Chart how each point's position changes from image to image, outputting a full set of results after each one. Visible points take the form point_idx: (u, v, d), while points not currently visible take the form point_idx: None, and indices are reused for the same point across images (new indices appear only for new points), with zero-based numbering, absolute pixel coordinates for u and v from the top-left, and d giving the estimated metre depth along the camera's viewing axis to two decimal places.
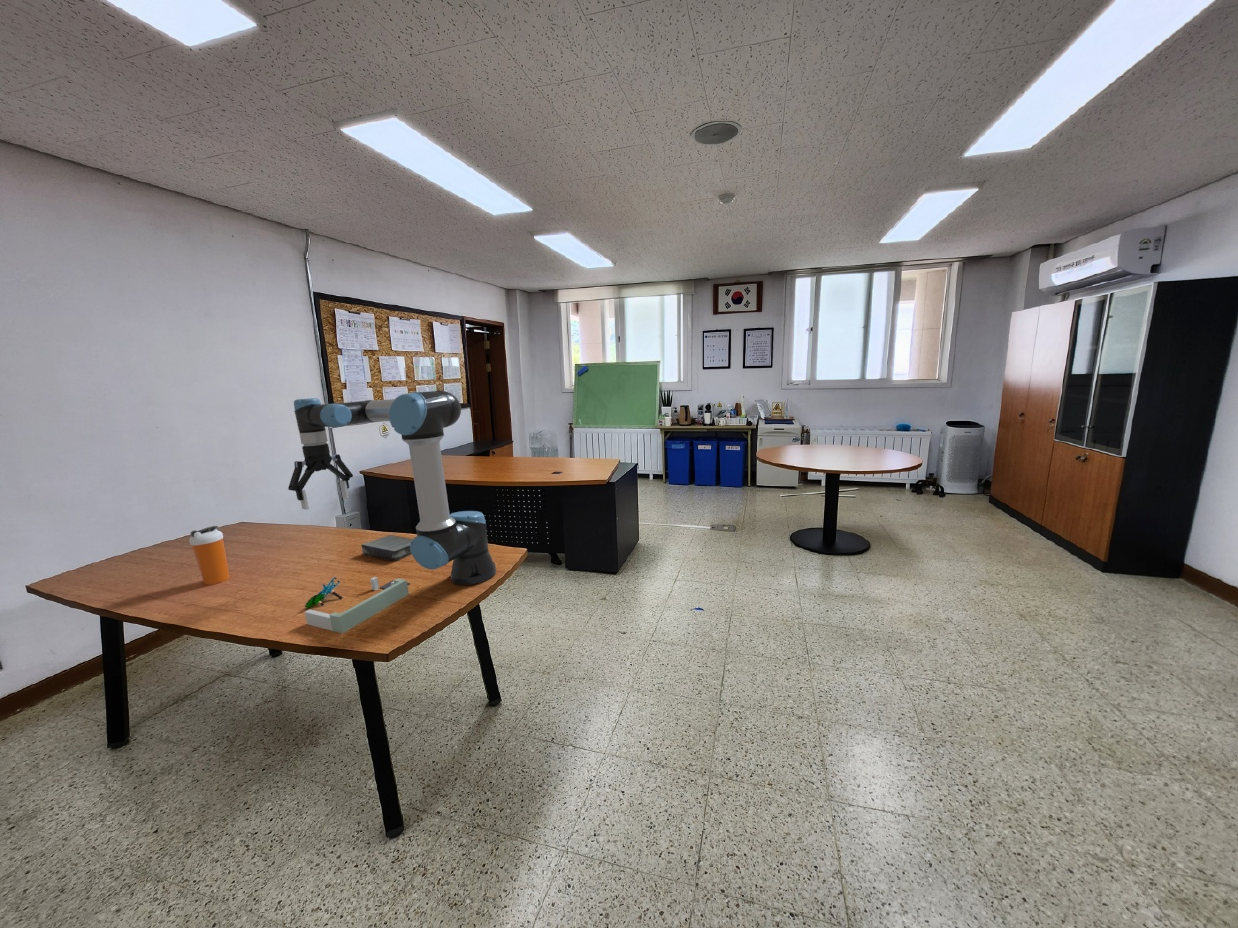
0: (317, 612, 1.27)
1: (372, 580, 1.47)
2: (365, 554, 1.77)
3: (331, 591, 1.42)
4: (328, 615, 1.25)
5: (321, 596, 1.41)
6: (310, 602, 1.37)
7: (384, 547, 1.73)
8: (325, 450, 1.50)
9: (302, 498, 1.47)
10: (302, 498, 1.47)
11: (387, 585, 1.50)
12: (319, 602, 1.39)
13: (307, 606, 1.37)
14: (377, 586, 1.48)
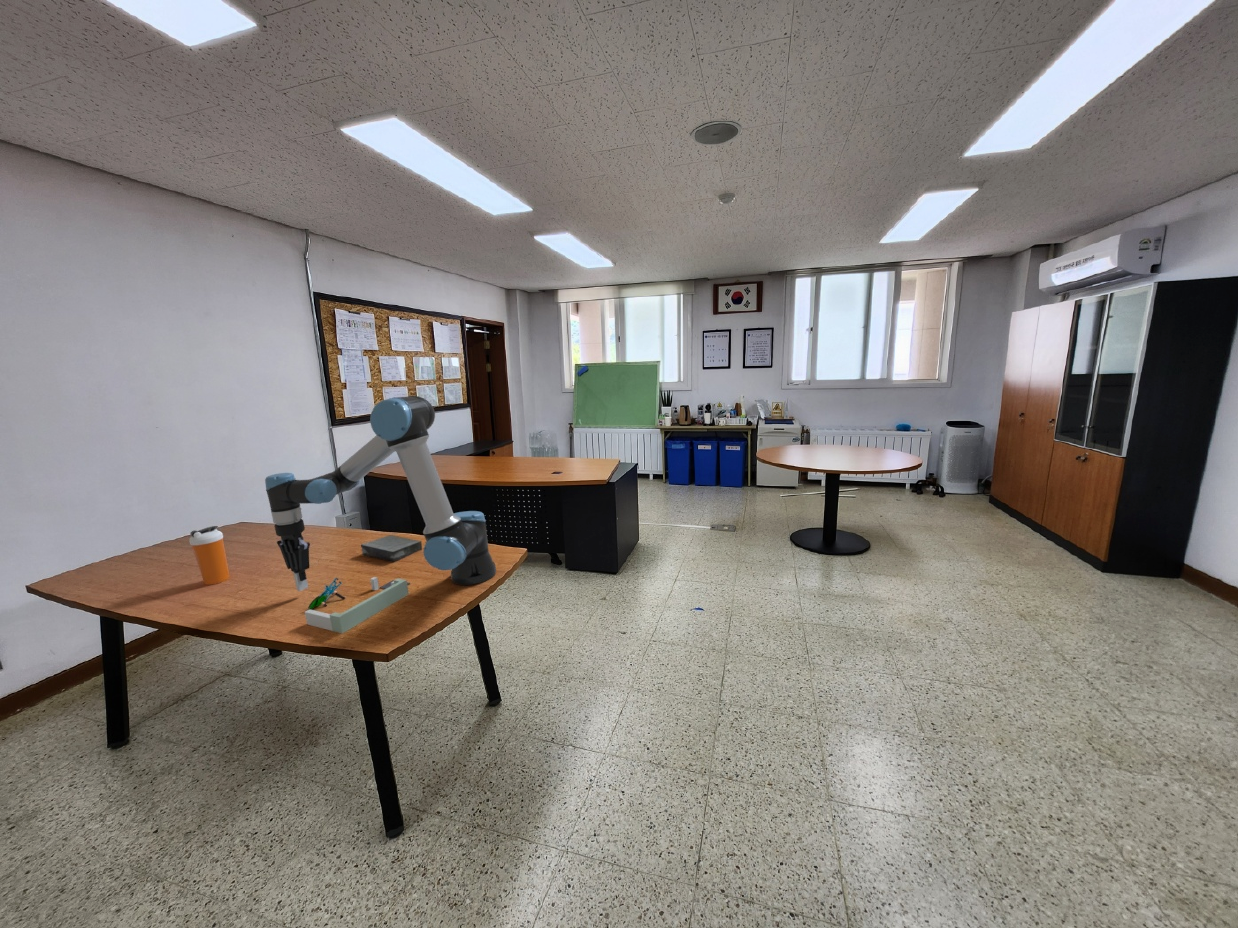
0: (317, 612, 1.27)
1: (372, 580, 1.47)
2: (364, 554, 1.77)
3: (333, 592, 1.42)
4: (328, 615, 1.25)
5: (324, 597, 1.40)
6: (313, 603, 1.36)
7: (383, 547, 1.73)
8: (280, 531, 1.37)
9: None
10: None
11: (387, 585, 1.50)
12: (322, 603, 1.38)
13: (310, 607, 1.36)
14: (377, 586, 1.48)
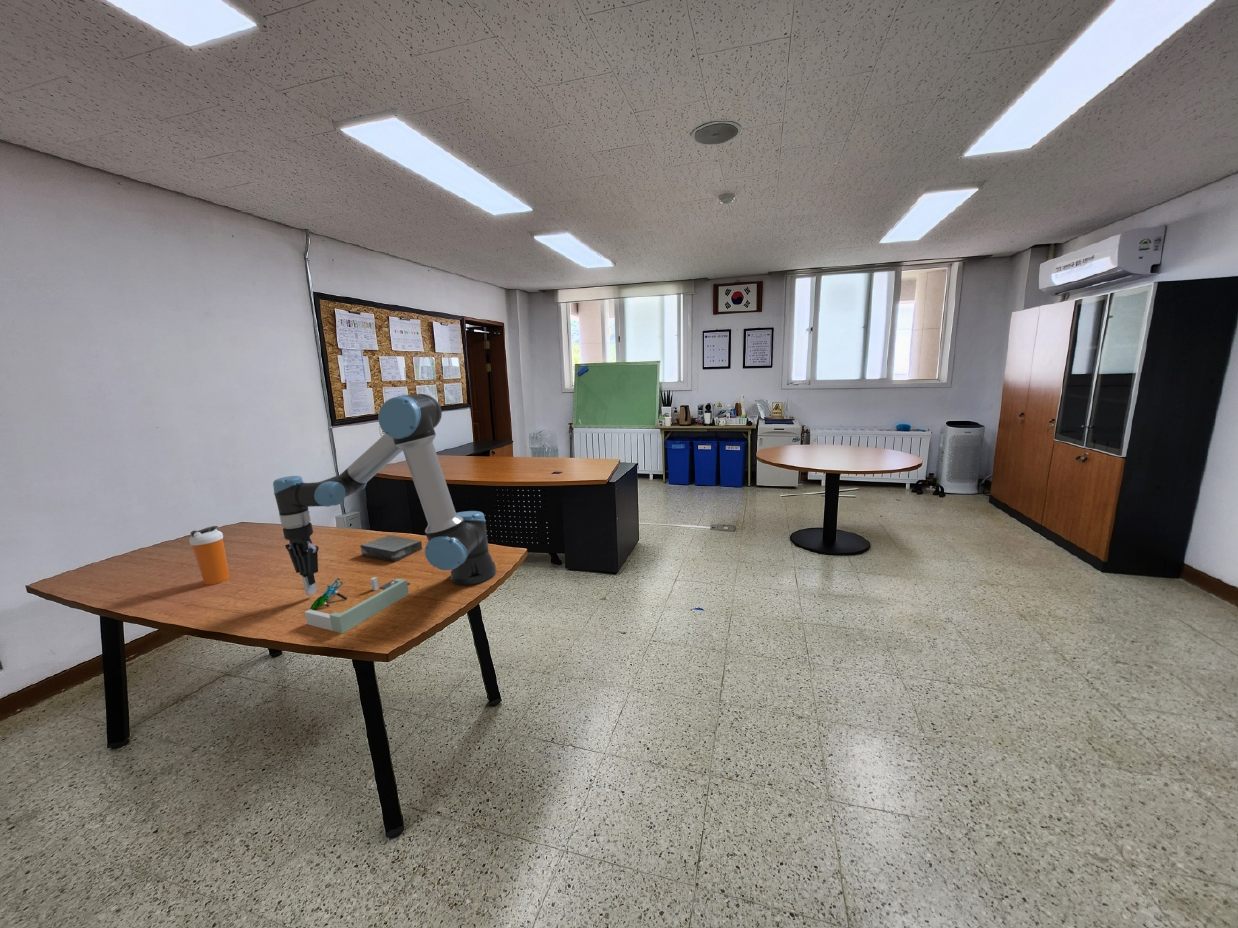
0: (317, 612, 1.27)
1: (372, 580, 1.47)
2: (364, 555, 1.77)
3: (335, 592, 1.41)
4: (328, 615, 1.25)
5: (325, 597, 1.39)
6: (315, 604, 1.36)
7: (383, 547, 1.73)
8: (288, 535, 1.36)
9: None
10: None
11: (387, 585, 1.50)
12: (324, 603, 1.38)
13: (312, 608, 1.36)
14: (377, 586, 1.48)
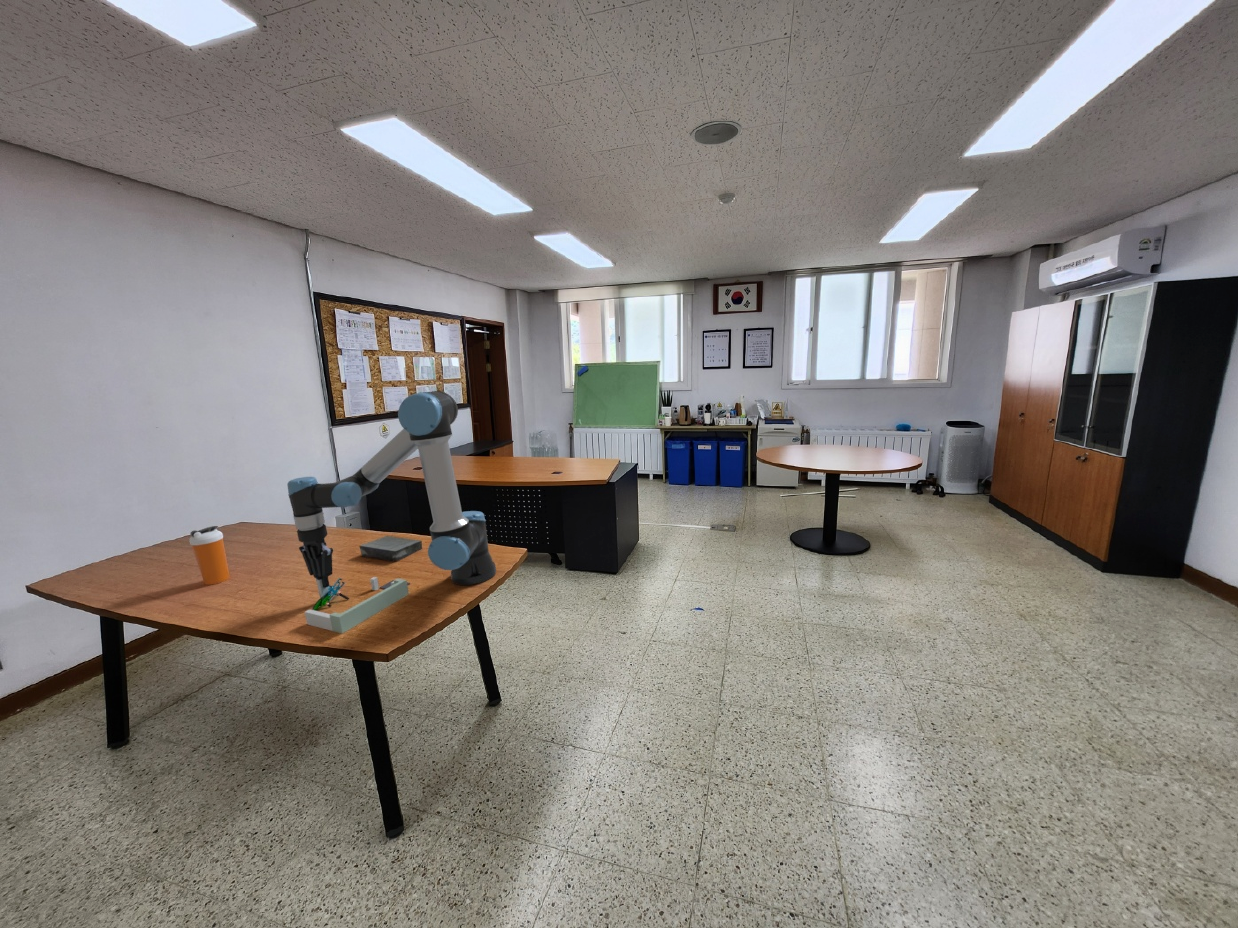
0: (317, 612, 1.27)
1: (372, 580, 1.47)
2: (364, 555, 1.76)
3: (337, 592, 1.41)
4: (328, 615, 1.25)
5: (327, 598, 1.39)
6: (318, 604, 1.36)
7: (384, 547, 1.73)
8: (303, 537, 1.34)
9: None
10: None
11: (387, 585, 1.50)
12: (326, 603, 1.37)
13: (315, 608, 1.35)
14: (377, 586, 1.48)
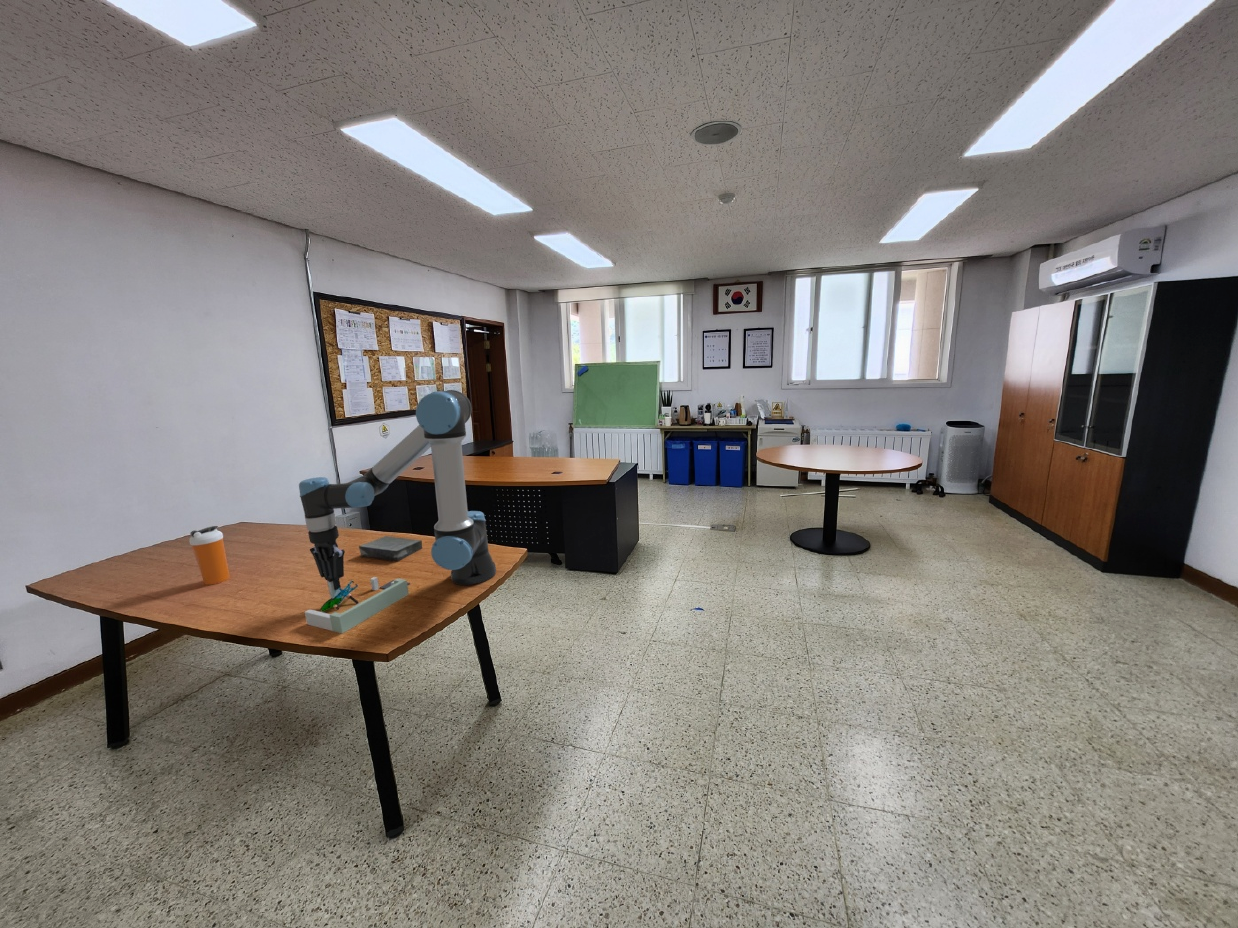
0: (317, 612, 1.27)
1: (372, 580, 1.47)
2: (363, 556, 1.76)
3: (348, 595, 1.39)
4: (328, 615, 1.25)
5: (337, 600, 1.38)
6: (326, 606, 1.35)
7: (384, 548, 1.73)
8: (314, 539, 1.32)
9: None
10: None
11: (387, 585, 1.50)
12: (335, 606, 1.36)
13: (323, 609, 1.34)
14: (377, 586, 1.48)
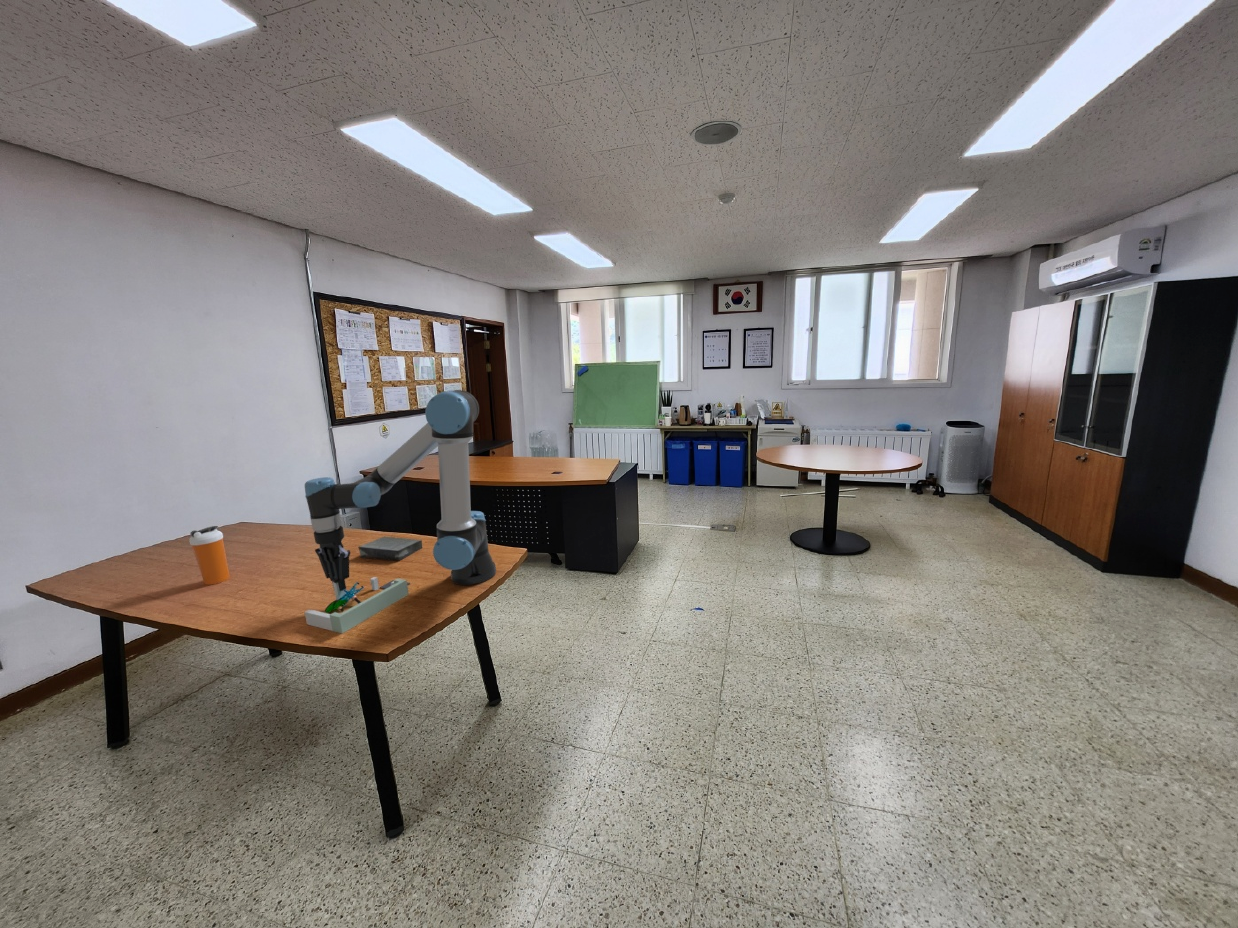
0: (317, 612, 1.27)
1: (372, 580, 1.47)
2: (363, 556, 1.75)
3: (353, 597, 1.38)
4: (328, 615, 1.25)
5: (342, 601, 1.36)
6: (330, 607, 1.34)
7: (385, 548, 1.73)
8: (320, 539, 1.31)
9: None
10: None
11: (387, 585, 1.50)
12: (339, 608, 1.35)
13: (327, 611, 1.33)
14: (377, 586, 1.48)
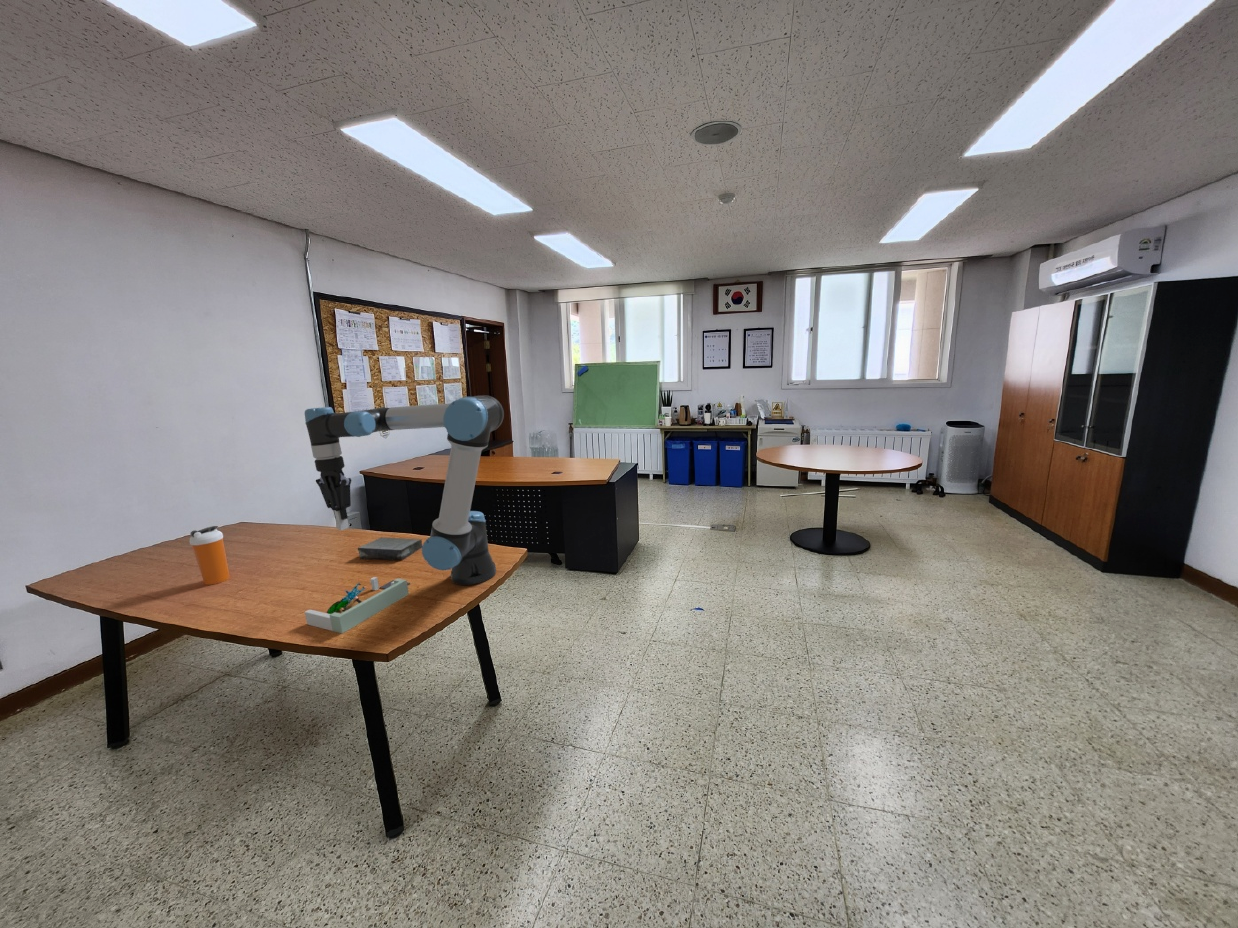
0: (317, 612, 1.27)
1: (372, 580, 1.47)
2: (362, 557, 1.74)
3: (354, 598, 1.37)
4: (328, 615, 1.25)
5: (344, 602, 1.36)
6: (332, 608, 1.33)
7: (386, 547, 1.73)
8: (321, 466, 1.34)
9: None
10: None
11: (387, 585, 1.50)
12: (341, 609, 1.34)
13: (329, 612, 1.33)
14: (377, 586, 1.48)
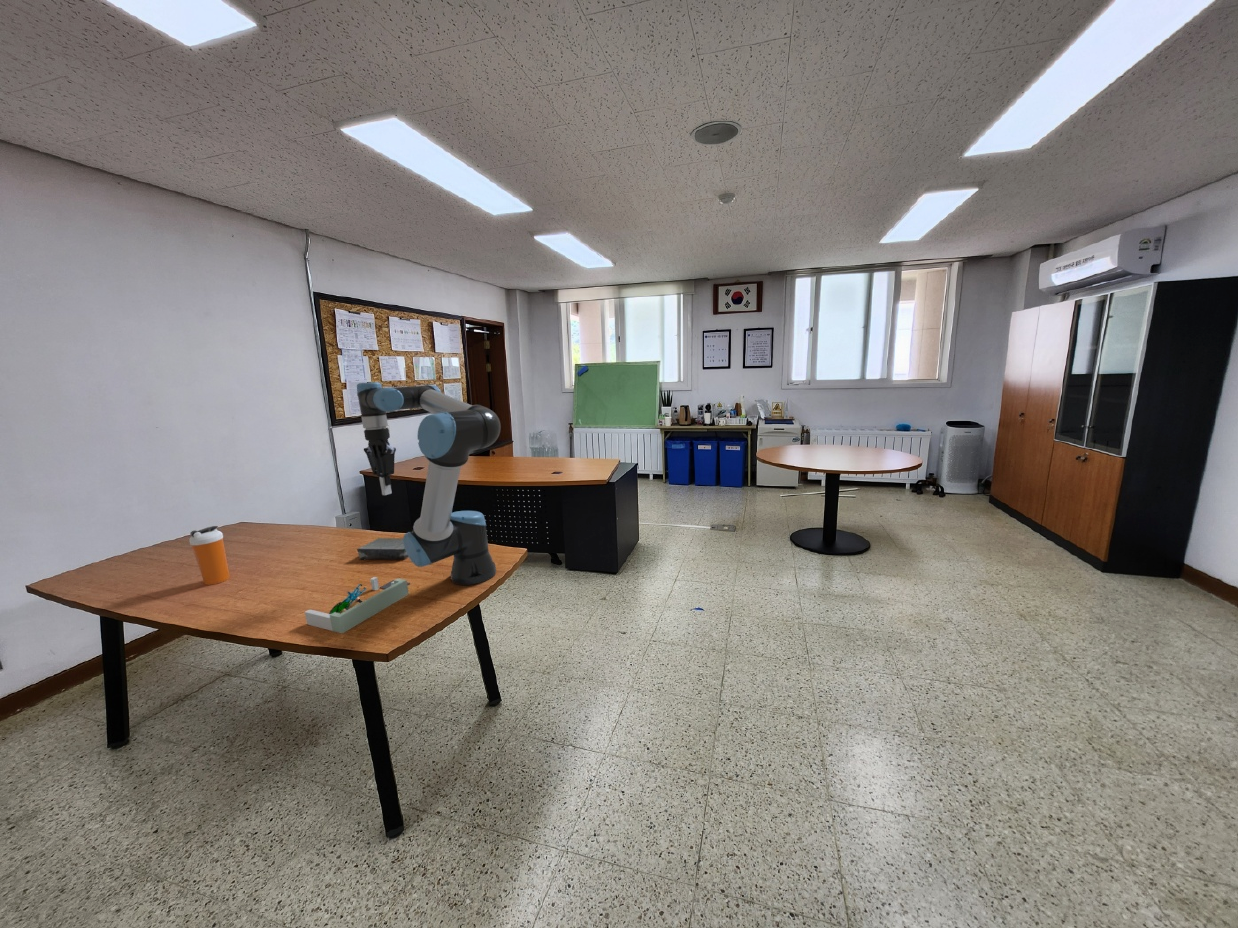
0: (317, 612, 1.27)
1: (372, 580, 1.47)
2: (362, 558, 1.73)
3: (356, 598, 1.37)
4: (328, 615, 1.25)
5: (346, 603, 1.35)
6: (334, 610, 1.32)
7: (387, 547, 1.73)
8: (370, 435, 1.47)
9: None
10: (381, 483, 1.54)
11: (387, 585, 1.50)
12: (343, 610, 1.33)
13: None
14: (377, 586, 1.48)
